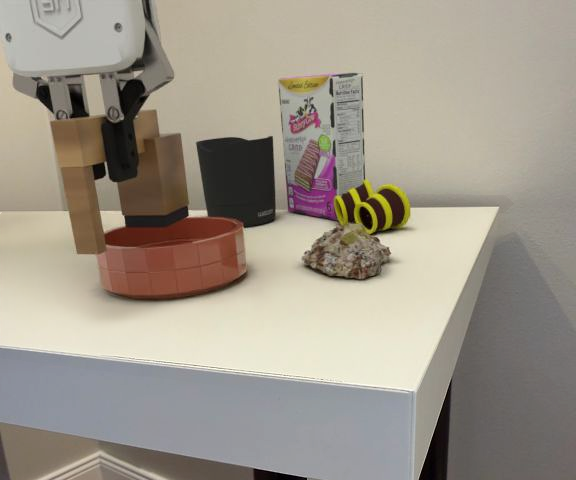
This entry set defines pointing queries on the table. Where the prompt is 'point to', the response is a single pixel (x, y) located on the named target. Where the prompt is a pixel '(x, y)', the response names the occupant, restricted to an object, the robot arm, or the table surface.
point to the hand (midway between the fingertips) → (108, 178)
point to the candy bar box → (322, 139)
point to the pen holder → (238, 178)
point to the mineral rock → (347, 252)
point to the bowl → (173, 258)
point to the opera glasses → (373, 207)
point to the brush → (132, 193)
